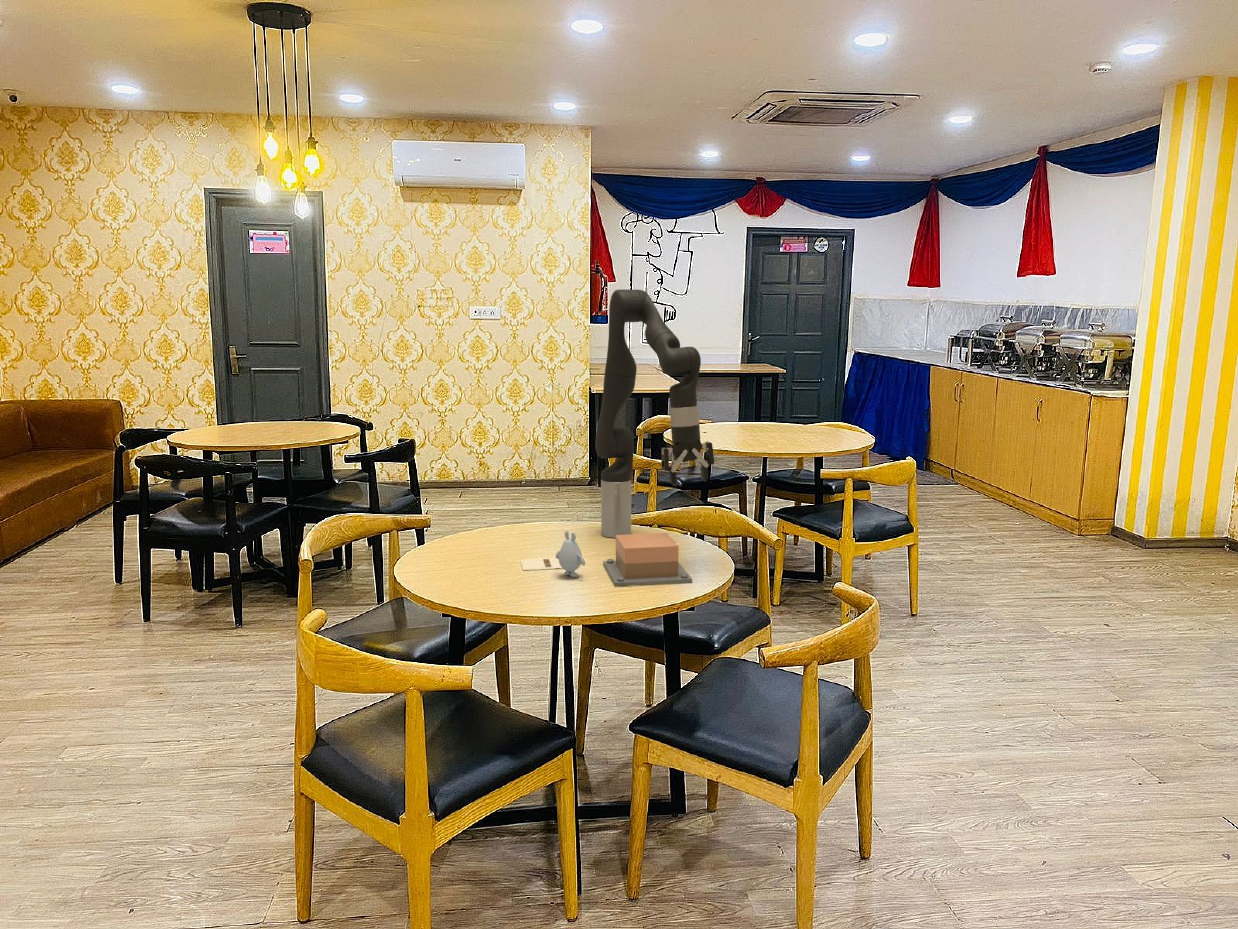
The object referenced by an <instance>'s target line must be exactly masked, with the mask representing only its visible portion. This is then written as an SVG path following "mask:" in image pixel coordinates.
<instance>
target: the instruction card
mask: <svg viewBox="0 0 1238 929" xmlns="http://www.w3.org/2000/svg"><path fill="white" fill-rule="evenodd" d="M520 564H521V568H522V571H523V572H525V571H524V570H531V571H543V570H542V569H551V570H556V569H555V568H562V567H561V565H560V564H559V559H556V557H551V558H549V557H547V558H528V559H526V558H525V559H520Z"/></svg>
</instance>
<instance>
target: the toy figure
mask: <svg viewBox="0 0 1238 929" xmlns="http://www.w3.org/2000/svg"><path fill="white" fill-rule="evenodd" d="M564 538H565V540H564V541H563V543H562V546H561V547H560V550H558V551H557V552H556V554H555V558H556V559H559V564H560V565H561V567H562V568H563V569H562V570H564V571H565V572H564V575H565V576H566V575H570V576H569V577H571V578H578V576H579V574H578V573H577V572H576V570H578V569H579V568H580V567H581V565H582V566H585V565H586V560H585V559H584V558H583V555H582V554H583V553H582V551H581V549H580V546H579V544H578V543H577V540H576V538H577V537H576V533H575V532H571V537H570V533H569V531H568V530H566V531H565V532H564Z"/></svg>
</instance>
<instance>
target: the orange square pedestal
mask: <svg viewBox="0 0 1238 929" xmlns="http://www.w3.org/2000/svg"><path fill="white" fill-rule="evenodd" d="M679 548H680V547H679V545H678V544H677V542H676V541H674V539H673V538H672V537H671V535H669V534H668V533H667V532H654V533H631V534H627V535H616V538H615V559H613V558H607V559H606V560H604V561H602V565H603V568H604V569H605V571H606V573H607V572H608V573H607V575H608V576H609V579H610V580H611V582H612V583H613V585H615V586H614V587H615V588H617V587H616V586H621V587H632V586H631V585H640V586H656V585H655V584H659V585H666V584H665V583H669V584H668V585H675V583H677V584H693V578H692V577H691V575H690V574H689V573H688V572H687V570H685V568H684V566H682V564H680V562H679V554H680V553H679V551H680V550H679ZM670 583H672V584H670ZM629 585H630V586H629Z"/></svg>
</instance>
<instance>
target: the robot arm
mask: <svg viewBox="0 0 1238 929" xmlns="http://www.w3.org/2000/svg"><path fill="white" fill-rule="evenodd" d="M626 323H643V324H645V325H646V326H645V330H644V331H645V332H644V336H645V337H644V338H645V340H646V343H647V344H648V345H649V347H650V348H651V349H652V351H654V353H656V356H657V359H658V362H659V366H660V368H661V371H662V372H663V373H664V374H666V375H667V376H680V375H683V377H682V379H681V381H680V382H678V383H675V384H673V385H671V386H670V388H669V406H670V411H669V414H670V415H669V417H670V428H671V430H670V431H671V441H672V442H671V443H672V445H671V447H661V450H660V454H661V456H660V459H661V462H660V463H661V469H662V470H663V471H665V472H668V473H669V475H668V477H669V483H670V484H672V485H671V486H674V487H676V486H678V477H677V468H678V467H679V466H681V463H682V462H683V463H686V462H692V461H696V462H698V464H699V465H700V479H701V482H707V481H708V479H709V466H711V465H714V464H715V455H714V450H713V449H714V447H713V443H712V442H710V441H705V442H701V428H700V415H699V408H698V402H697V401H698V400H697V386H698V378H699V374H700V370H701V364H702V363H701V362H702V361H701V355H700V353H699V351H698V349H697V348H696V347H694V346H682V347H681V342H680V339H679V338H678V336H676V334H675V333H674V332H673V331H672V330H671V329H670V328H669V327H668V326H667V325H666V323H665V322H664V320H663V318H662V317H661V314H660V312H659V310H658V308H657V307H656V305H655V303H654V301H653V300H652V298H651V296H650V295H649V294H648V292H646V291H645V290H642V289H615V290H614V291H613V292H612V293H611V297H610V302H609V310H608V340H607V341H608V342H607V352H606V361H605V368H604V378H603V390H602V401H601V407H600V412H599V413H600V414H599V419H598V423H597V427H596V428H597V429H596V433H595V440H594V441H595V446H594V447H595V452H596V454H597V456H598V457H599V458H600V459H606V460H607V459H615V461H614V462H613V463H612V464H611V465H609V466H607V467H605V468H604V469H602V470H601V473H600V490H601V491H600V496H601V497H600V498H601V499H600V500H601V501H600V508H601V509H600V511H601V514H600V518H601V521H600V522H601V523H600V525H601V528H600V529H601V530H600V532H601V535H602V536H603V537H606V538H615V539H616V535H627V534H632V473H633V469H634V468H633V467H634V465H633V464H634V449H635V448H634V447H635V440H634V439H635V438H634V435H633V432H632V430H631V429H630V428H629V427H627V426H619V427H618V426H616V427H615V424H616V419H617V417H618V415H619V413H620V411H621V410H622V409H623V407H624V406H625V404H626V403H627V402H628V400H629V398H630V397H631V396H632V394H633V393H634V390H635V386H636V379H637V369H638V368H637V363H636V361H635V358H634V356H633V354H632V352H631V350H630V348H629V346H628V344H627V341H626V336H625V326H626V325H625V324H626ZM702 450H704V451H705V457H706V460H705V458H704V457H703V456H702V454H700V453H701V451H702ZM671 453H672V454H673V458H672V459H671V461H670V459H669V458H670V456H671ZM670 462H671V463H670Z"/></svg>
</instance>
